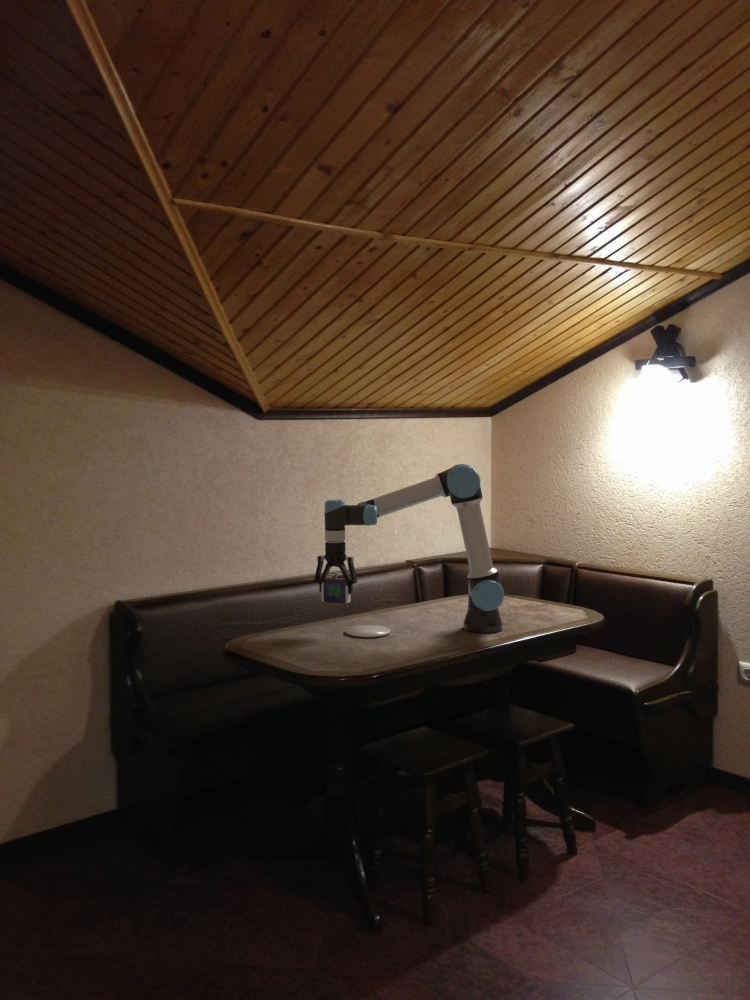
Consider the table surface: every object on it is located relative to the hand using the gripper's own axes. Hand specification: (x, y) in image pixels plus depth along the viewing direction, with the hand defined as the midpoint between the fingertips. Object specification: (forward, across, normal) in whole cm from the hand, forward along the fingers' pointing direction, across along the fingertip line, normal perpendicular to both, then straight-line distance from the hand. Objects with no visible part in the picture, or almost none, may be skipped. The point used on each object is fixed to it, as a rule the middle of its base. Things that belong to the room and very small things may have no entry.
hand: (336, 601), depth 307 cm
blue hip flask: (+1, 0, 0) cm, 1 cm away
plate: (+13, -10, -7) cm, 18 cm away
